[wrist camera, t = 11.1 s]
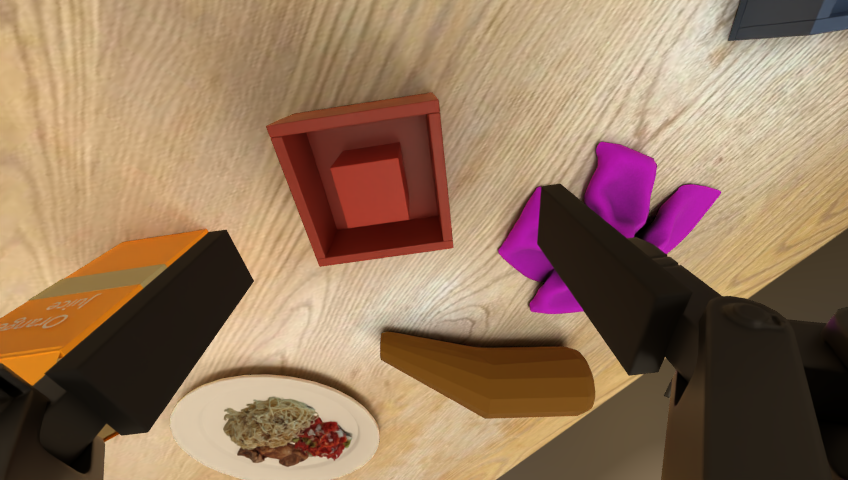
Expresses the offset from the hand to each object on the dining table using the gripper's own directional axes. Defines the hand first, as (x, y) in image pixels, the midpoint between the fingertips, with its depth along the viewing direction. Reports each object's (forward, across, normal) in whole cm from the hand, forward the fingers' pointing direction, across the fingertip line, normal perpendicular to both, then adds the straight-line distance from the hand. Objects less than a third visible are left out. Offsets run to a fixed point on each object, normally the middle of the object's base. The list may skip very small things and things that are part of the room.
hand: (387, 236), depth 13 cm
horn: (+16, +6, -28) cm, 33 cm away
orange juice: (+16, -24, -9) cm, 30 cm away
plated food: (+16, -25, -40) cm, 50 cm away
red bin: (+16, -2, -2) cm, 16 cm away
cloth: (+16, +20, -12) cm, 28 cm away
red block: (+15, -2, -2) cm, 16 cm away
